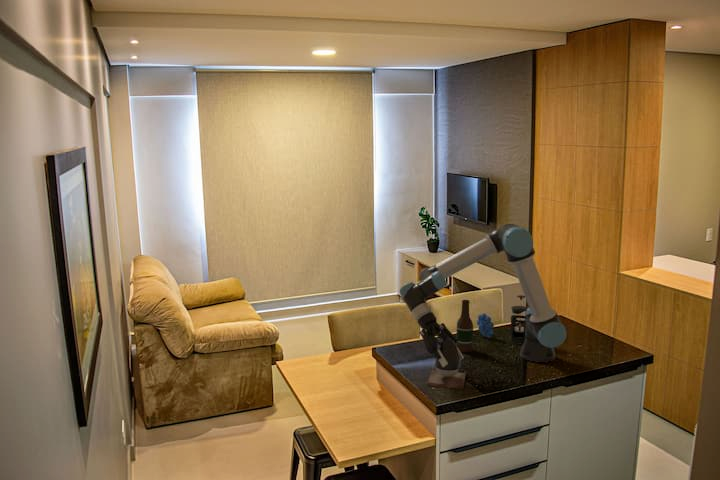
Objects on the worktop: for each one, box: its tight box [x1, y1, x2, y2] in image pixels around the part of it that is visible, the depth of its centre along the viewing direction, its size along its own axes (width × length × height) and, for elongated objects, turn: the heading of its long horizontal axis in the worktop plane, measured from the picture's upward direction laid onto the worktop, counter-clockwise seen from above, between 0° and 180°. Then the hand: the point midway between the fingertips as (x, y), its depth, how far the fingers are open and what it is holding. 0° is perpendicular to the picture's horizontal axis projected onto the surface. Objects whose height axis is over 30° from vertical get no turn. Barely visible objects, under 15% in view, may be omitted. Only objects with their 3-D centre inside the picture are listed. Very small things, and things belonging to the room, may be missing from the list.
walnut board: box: [427, 369, 467, 390], centre depth 247 cm, size 14×14×1 cm
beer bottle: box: [455, 299, 474, 353], centre depth 283 cm, size 8×8×24 cm
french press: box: [509, 294, 529, 343], centre depth 296 cm, size 12×9×23 cm
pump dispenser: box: [434, 338, 461, 377], centre depth 245 cm, size 10×10×15 cm
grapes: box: [476, 312, 495, 339], centre depth 303 cm, size 12×7×12 cm, turn 32°
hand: (453, 362), depth 244 cm, fingers closed on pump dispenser, 9 cm apart
